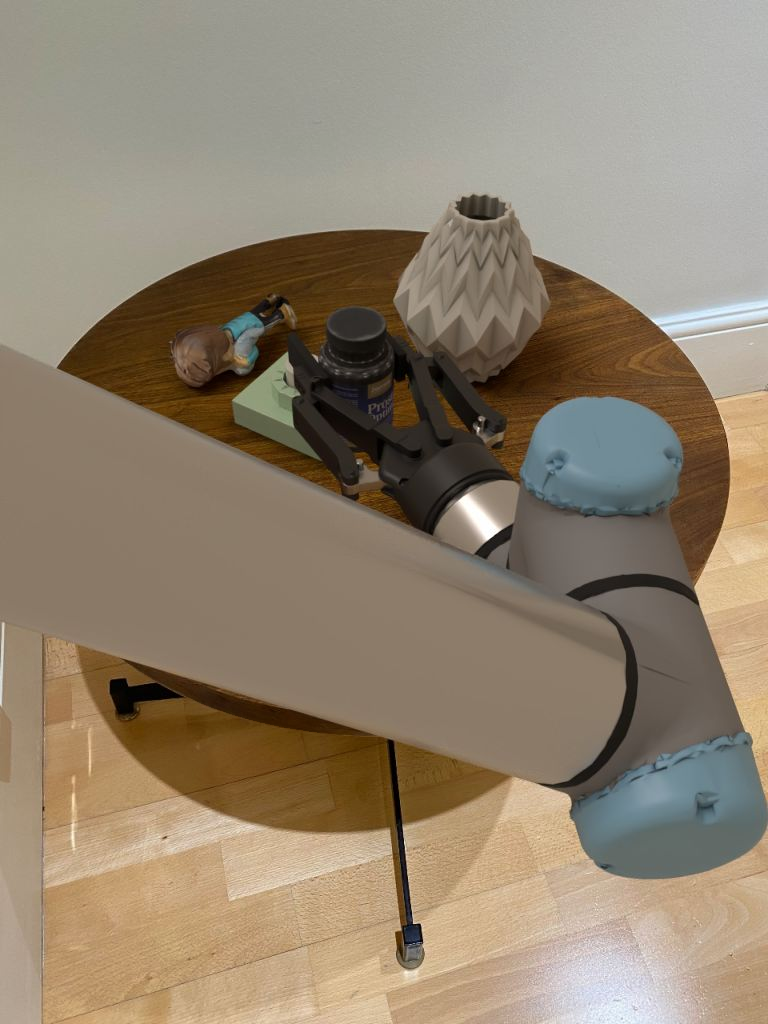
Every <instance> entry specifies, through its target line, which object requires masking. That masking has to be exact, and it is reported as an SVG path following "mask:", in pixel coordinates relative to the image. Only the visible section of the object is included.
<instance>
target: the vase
mask: <svg viewBox="0 0 768 1024" xmlns="http://www.w3.org/2000/svg"><path fill="white" fill-rule="evenodd" d="M515 215H516V213H515V210H514V209H513V208H512V203H511V201H506V200H503V198H502V196H501V195H494V196H492V195H491V194H490V193H489V192H488V191H486V192H482V193H480V194H479V193H478V192H474V191H470V192H469V193H468V194H467V195H465V194H457V197H456V199H452V200H450V201H449V202H448V206H447V208H446V209H445V210H444V212H443V214H442V215H441V216H440V217H439V219H438V221H437V222H436V223H435V224H433V225H432V227H431V229H430V231H429V233H428V234H427V235H426V236H425V237H424V239H423V242H422V243H421V246H420V248H419V250H418V252H416V254H415V255H414V257H413V258H412V259H411V261H410V262H409V263H408V265H407V266H406V268H405V269H404V271H402V273H401V275H400V276H399V277H398V279H397V285H398V288H397V289H396V292H395V295H394V297H393V305H394V306H395V309H396V311H397V313H398V314H399V317H400V319H401V320H402V322H403V325H404V327H405V330H406V332H407V335H408V336H409V338H410V340H411V342H412V345H414V347H415V349H416V351H417V353H420V354H422V355H423V356H424V357H433V354H434V353H435V352H437V351H443V352H445V353H447V354H448V356H449V357H450V358H451V359H452V361H453V362H454V363H455V364H456V366H457V367H458V368H459V370H460V371H461V372H462V373H463V375H464V376H465V377H466V378H467V380H468V381H469V382H470V383H471V384H472V383H473V382H478V383H486V382H487V380H488V379H489V378H490V377H493V376H494V377H495V376H498V375H499V374H500V371H501V370H504V369H505V368H506V367H507V366H509V364H510V363H512V361H514V360H515V359H516V358H517V357H518V356H519V355H520V354H521V353H522V352H523V350H524V349H525V347H526V346H527V344H528V342H529V341H530V340H531V338H532V336H533V335H534V334H535V333H536V332H537V331H538V330H539V329H541V328H542V320H543V319H544V317H545V315H546V314H547V312H548V311H549V309H550V307H551V301H550V298H549V294H548V291H547V289H546V286H545V283H544V279H543V276H542V273H541V271H540V270H539V268H538V267H536V265H535V261H534V256H533V251H532V250H533V249H532V246H531V241H530V238H529V237H528V236H527V235H526V234H525V232H524V230H522V228H521V222H520V219H519V218H517V217H516V216H515Z"/></svg>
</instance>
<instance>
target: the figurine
mask: <svg viewBox="0 0 768 1024" xmlns="http://www.w3.org/2000/svg"><path fill="white" fill-rule="evenodd" d="M266 311H268V312H269V313H271V314H270V315H265V314H266ZM297 323H298V319H297V316H296V313H295V311H294V309H293V308H292V306H291V304H290V301H289V300H288V299H287V298H285V297H284V296H282V295H281V294H280V293H278V292H270V293H269V294H267V296H266V298H264V299H262V301H261V302H259V303H258V304H257V305H255V306H254V307H253V308H251V309H250V310H249V311H246V312H244V313H242V314H240V315H239V316H237V317H235V318H233V319H232V320H230V321H228V322H227V323H224V324H223V325H219V326H217V325H213V324H202V325H199V326H192V327H191V326H190V327H187V328H181V329H180V328H179V329H178V331H177V332H176V333H175V334H174V339H171V340H169V342H167V345H169V346H170V349H171V351H170V355H169V356H167V358H168V359H170V360H172V362H173V363H174V368H175V370H176V374H177V376H178V377H179V378H180V379H181V380H182V381H183V383H185V384H186V385H187V386H190V387H193V388H201V387H203V386H204V385H205V384H207V383H208V382H210V381H211V380H212V379H213V378H214V377H215V376H218V375H221V374H222V373H224V372H226V371H229V370H232V372H234V373H235V374H237V375H238V376H246V375H247V374H249V373H250V372H252V371H253V369H254V367H255V363H256V360H257V359H258V357H259V355H260V354H259V348H258V347H257V345H256V343H257V342H258V341H259V338H261V337H263V336H264V335H266V333H267V332H268V331H269V330H272V329H273V328H274V327H275V326H276V325H278V324H285V325H286V326H287V327H288V328H289V329H290V330H296V326H297Z"/></svg>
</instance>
